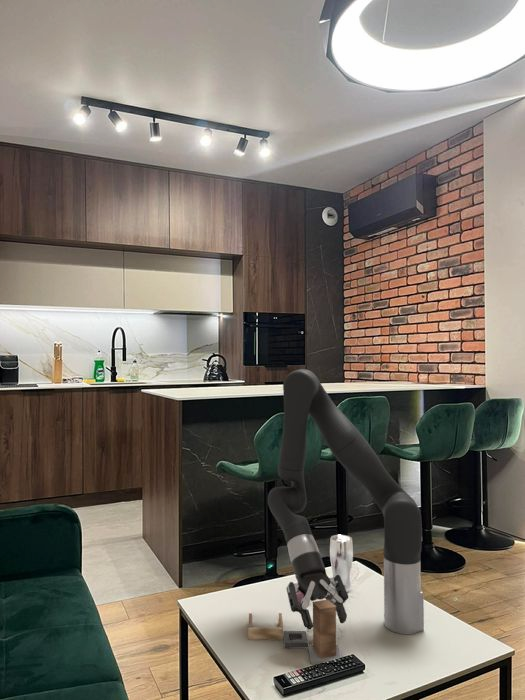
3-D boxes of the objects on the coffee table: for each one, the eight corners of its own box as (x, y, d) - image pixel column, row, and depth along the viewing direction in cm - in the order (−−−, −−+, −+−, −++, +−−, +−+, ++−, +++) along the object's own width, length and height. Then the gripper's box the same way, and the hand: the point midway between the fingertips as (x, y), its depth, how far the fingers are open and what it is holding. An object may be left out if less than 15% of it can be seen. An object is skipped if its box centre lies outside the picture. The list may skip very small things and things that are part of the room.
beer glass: (356, 586, 157) (356, 537, 157) (347, 595, 151) (347, 543, 152) (335, 581, 161) (335, 533, 161) (326, 589, 155) (325, 539, 155)
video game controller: (303, 611, 144) (315, 590, 144) (289, 603, 145) (300, 581, 145) (307, 596, 154) (317, 576, 153) (293, 588, 155) (304, 568, 154)
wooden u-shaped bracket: (281, 622, 134) (281, 613, 135) (283, 639, 126) (283, 628, 126) (248, 623, 134) (248, 613, 134) (248, 639, 126) (248, 629, 126)
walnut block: (328, 646, 122) (328, 599, 122) (336, 655, 118) (335, 606, 118) (312, 649, 121) (312, 601, 121) (320, 658, 117) (320, 609, 117)
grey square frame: (305, 635, 128) (305, 630, 128) (308, 647, 122) (308, 642, 122) (283, 635, 128) (283, 631, 128) (284, 648, 122) (284, 642, 122)
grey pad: (337, 647, 123) (337, 644, 123) (342, 663, 116) (342, 661, 116) (308, 647, 123) (308, 644, 123) (311, 664, 116) (311, 661, 116)
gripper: (283, 554, 124) (304, 624, 113) (335, 546, 130) (360, 613, 118) (275, 568, 129) (294, 637, 118) (325, 560, 134) (348, 626, 123)
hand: (327, 625), depth 118 cm, fingers open, 8 cm apart
